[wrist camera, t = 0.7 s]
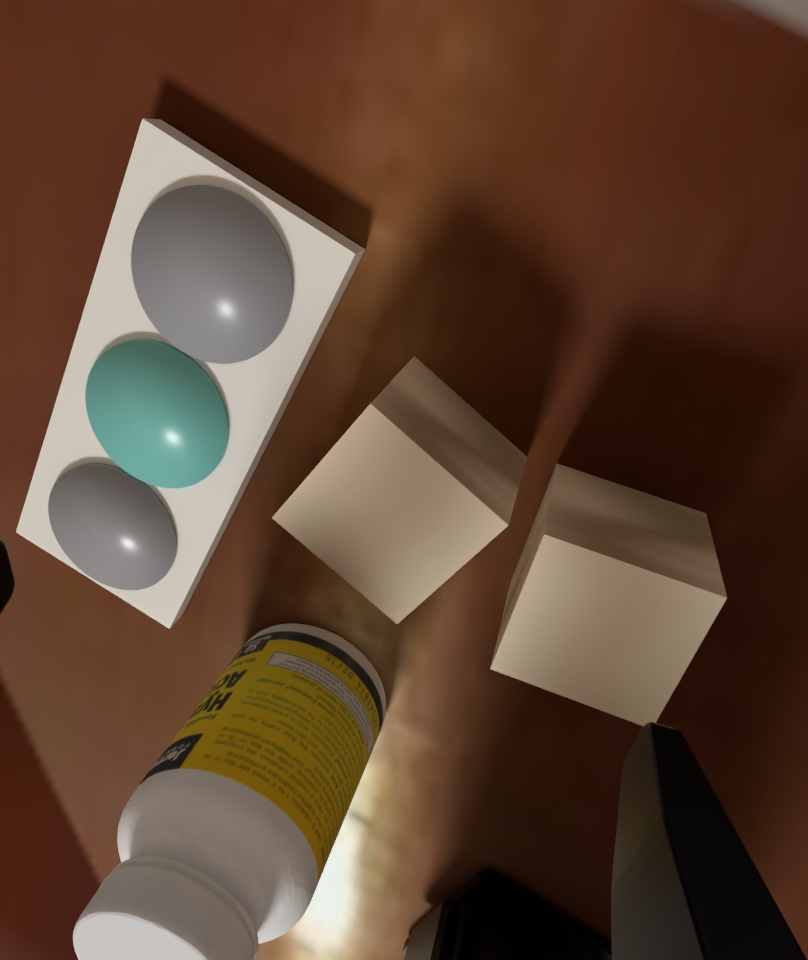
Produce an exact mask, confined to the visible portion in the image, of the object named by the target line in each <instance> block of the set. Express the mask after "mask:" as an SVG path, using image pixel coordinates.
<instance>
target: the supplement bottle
mask: <svg viewBox="0 0 808 960" xmlns="http://www.w3.org/2000/svg"><path fill="white" fill-rule="evenodd" d="M385 713H386V698H385V692H384V687H383V685H382V682H381V679H380V677H379V675H378V673H377V671H376V670H375V668H374V667H373V665H372V664H371V663H370V661H369V660H368V659H367V658H366V657H365V656H364V655H363V654H362V653H361V652H360V651H359V650H358V649H357V648H356V647H355V646H353V645H352V644H351V643H350V642H348V641H347V640H345V639H343V638H342V637H340V636H338V635H336V634H334V633H332V632H329V631H327V630H324V629H322V628H318V627H315V626H311V625H305V624H298V623H287V624H279V625H275V626H271V627H269V628H266V629H264V630H262V631H260V632H258V633H257V634H255V635H254V636H253V637H252V638H251V639H249V640H248V641H247V642H246V644H245V645H244V646H243V647H242V648H241V649H240V651H239V652H238V653H237V655H236V656H235V657H234V658H233V660H232V661H231V663H230V664H229V665H228V667H227V668H226V669H225V671H224V672H223V673H222V675H221V676H220V677H219V679H218V680H217V682H216V683H215V684H214V686H213V687H212V688H211V690H210V691H209V692H208V694H207V695H206V696H205V698H204V699H203V700H202V702H201V703H200V705H199V706H198V707H197V709H196V710H195V711H194V713H193V714H192V715H191V717H190V718H189V719H188V721H187V722H186V723H185V725H184V726H183V727H182V729H181V730H180V732H179V733H178V734H177V736H176V737H175V738H174V739H173V741H172V742H171V743H170V745H169V746H168V747H167V749H166V750H165V751H164V753H163V754H162V755H161V757H160V758H159V759H158V761H157V762H156V763H155V765H154V766H153V767H152V769H151V770H150V771H149V772H148V774H147V775H146V776H145V778H144V779H143V780H142V782H141V783H140V784H139V785H138V787H137V789H136V791H135V792H134V793H133V795H132V796H131V798H130V799H129V801H128V803H127V804H126V806H125V808H124V810H123V812H122V815H121V818H120V822H119V826H118V836H117V841H118V851H119V855H120V859H121V862H122V863H120V864H119V865H117V866H116V867H115V868H114V869H113V871H112V872H111V874H109V875H108V876H107V877H106V878H105V880H104V881H103V882H102V884H101V886H100V887H99V889H98V891H97V892H96V894H95V895H94V897H93V898H92V900H91V901H90V903H89V904H88V905H87V907H86V908H85V910H84V911H83V912H82V914H81V915H80V917H79V919H78V921H77V922H76V925H75V928H74V932H73V944H74V948H75V952H76V954H77V957H78V959H79V960H254V959H255V957H256V955H257V951H258V946H259V944H260V943H264V942H267V941H270V940H273V939H275V938H277V937H279V936H281V935H283V934H284V933H286V932H287V931H289V930H290V929H291V928H292V927H293V926H294V925H295V924H296V923H297V922H298V921H299V920H300V919H301V917H302V916H303V914H304V913H305V911H306V909H307V907H308V906H309V903H310V901H311V899H312V897H313V894H314V892H315V889H316V887H317V884H318V882H319V879H320V877H321V875H322V872H323V870H324V867H325V865H326V862H327V860H328V857H329V855H330V852H331V850H332V847H333V845H334V843H335V840H336V838H337V835H338V833H339V830H340V828H341V826H342V823H343V821H344V818H345V816H346V813H347V811H348V809H349V806H350V804H351V801H352V799H353V796H354V794H355V792H356V789H357V787H358V784H359V782H360V779H361V777H362V775H363V772H364V770H365V767H366V765H367V762H368V760H369V758H370V755H371V753H372V750H373V748H374V745H375V743H376V740H377V738H378V736H379V733H380V731H381V728H382V725H383V722H384V719H385Z"/></svg>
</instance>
